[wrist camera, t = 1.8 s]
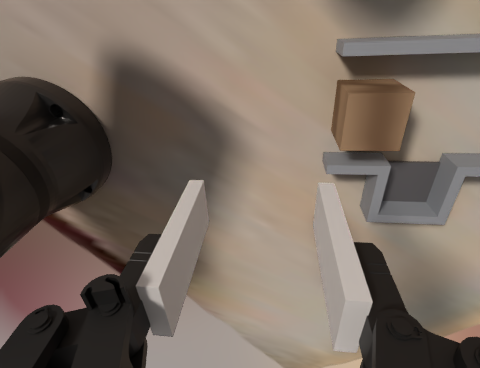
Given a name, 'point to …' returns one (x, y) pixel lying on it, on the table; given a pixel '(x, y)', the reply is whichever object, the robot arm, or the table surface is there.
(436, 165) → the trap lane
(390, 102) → the walnut block
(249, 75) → the table surface
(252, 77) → the table surface
